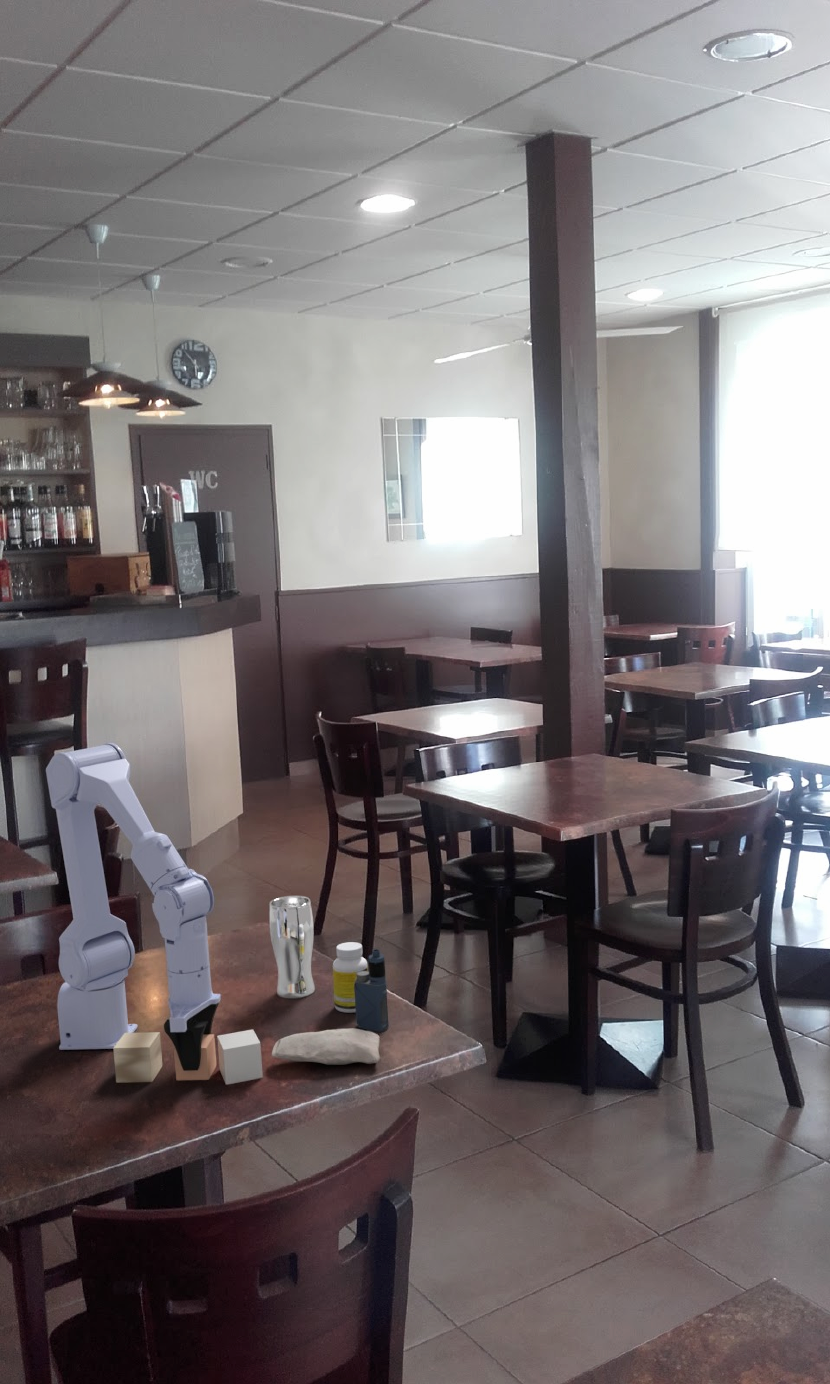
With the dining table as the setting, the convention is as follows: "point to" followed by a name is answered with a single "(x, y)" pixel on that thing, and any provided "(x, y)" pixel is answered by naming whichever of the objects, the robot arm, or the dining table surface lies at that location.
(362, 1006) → the vaping device
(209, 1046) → the terracotta cube
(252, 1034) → the white cube
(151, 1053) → the birch cube
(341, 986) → the supplement bottle
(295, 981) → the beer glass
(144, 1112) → the dining table surface
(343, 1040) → the decorative stone
